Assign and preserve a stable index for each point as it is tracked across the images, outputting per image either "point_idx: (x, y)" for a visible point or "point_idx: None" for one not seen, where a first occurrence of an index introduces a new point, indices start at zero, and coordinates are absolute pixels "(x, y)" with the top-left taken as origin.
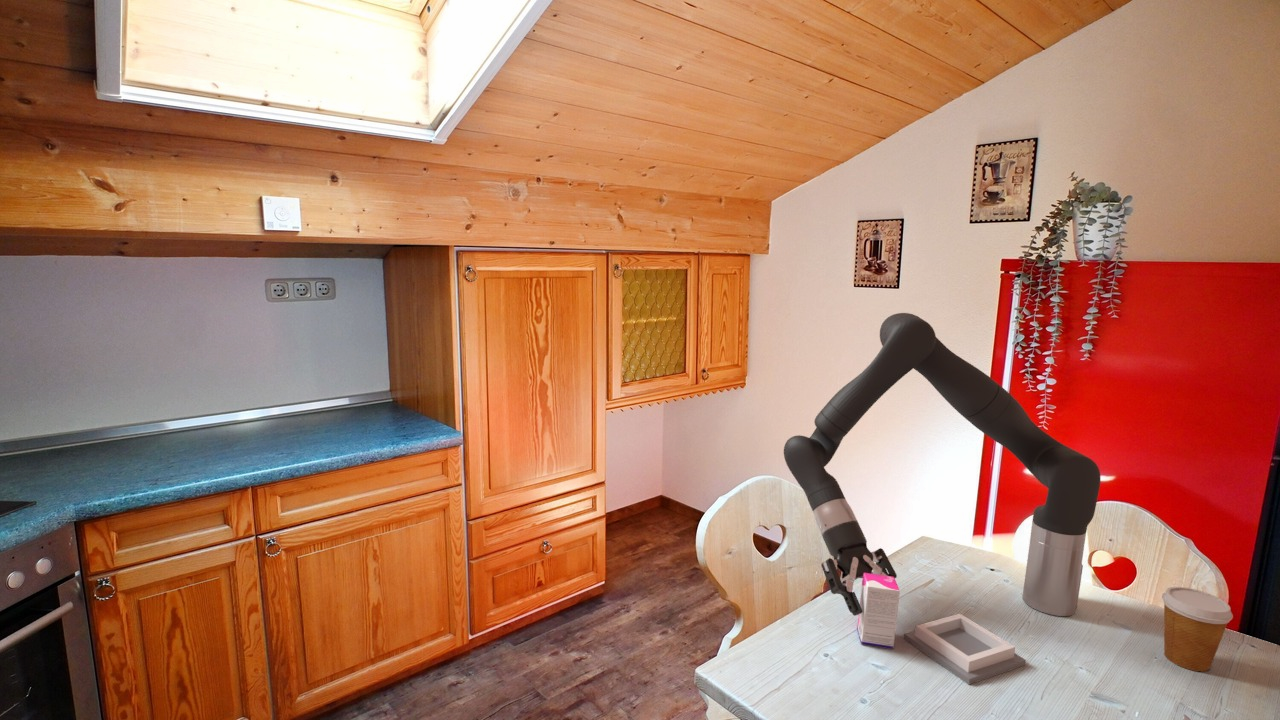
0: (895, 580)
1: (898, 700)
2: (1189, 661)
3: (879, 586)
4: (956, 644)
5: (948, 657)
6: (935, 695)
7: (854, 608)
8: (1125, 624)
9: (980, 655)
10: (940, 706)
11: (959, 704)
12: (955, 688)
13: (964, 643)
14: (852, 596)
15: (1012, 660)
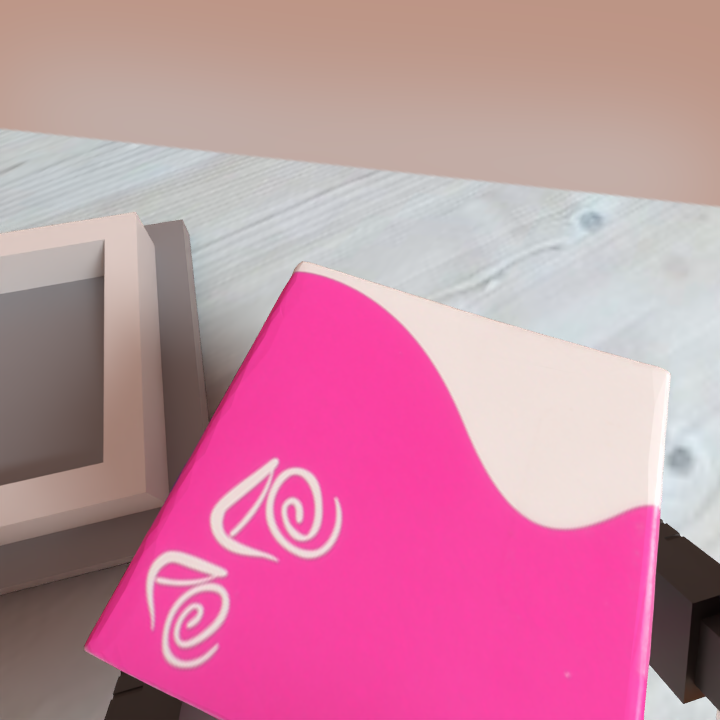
0: (154, 520)
1: (476, 209)
2: None
3: (510, 358)
4: (20, 404)
5: (155, 317)
6: (342, 211)
7: None
8: None
9: (47, 235)
10: (359, 176)
11: (294, 176)
12: (250, 227)
13: None
14: (691, 568)
15: None
